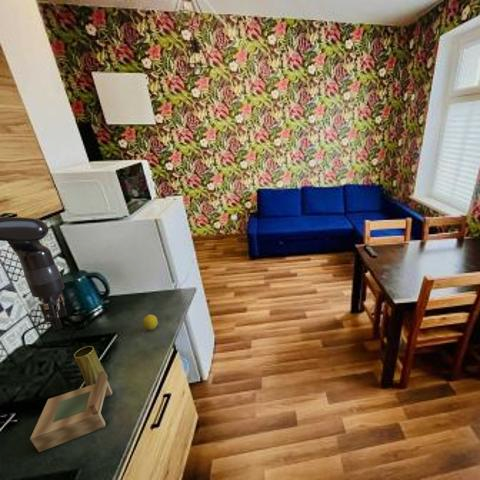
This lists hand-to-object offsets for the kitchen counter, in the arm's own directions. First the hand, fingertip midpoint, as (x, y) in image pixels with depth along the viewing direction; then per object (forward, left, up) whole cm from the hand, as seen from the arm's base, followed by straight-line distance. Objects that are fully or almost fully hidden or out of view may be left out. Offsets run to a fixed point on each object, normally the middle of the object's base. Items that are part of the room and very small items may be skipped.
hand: (60, 322), depth 89 cm
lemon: (+21, +15, -24) cm, 35 cm away
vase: (+5, -7, -24) cm, 25 cm away
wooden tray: (+3, -21, -24) cm, 31 cm away
